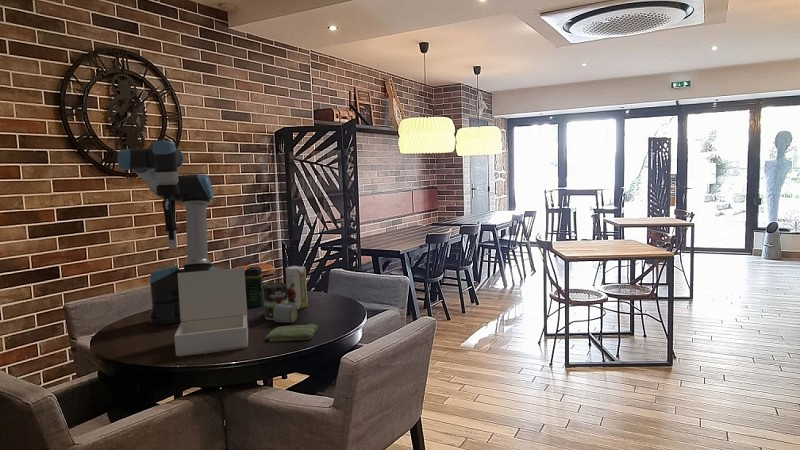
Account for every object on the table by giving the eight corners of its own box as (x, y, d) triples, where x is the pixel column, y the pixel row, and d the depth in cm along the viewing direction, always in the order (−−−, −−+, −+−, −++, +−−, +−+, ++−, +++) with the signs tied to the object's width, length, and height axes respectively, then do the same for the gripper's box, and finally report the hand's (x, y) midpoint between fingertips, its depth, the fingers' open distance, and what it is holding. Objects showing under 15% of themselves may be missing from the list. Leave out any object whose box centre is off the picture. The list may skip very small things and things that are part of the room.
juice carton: (297, 304, 245) (295, 265, 243) (310, 306, 240) (307, 266, 238) (285, 308, 239) (282, 267, 237) (298, 310, 234) (295, 269, 232)
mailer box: (182, 341, 197) (181, 322, 196) (248, 333, 203) (246, 314, 203) (176, 356, 180) (174, 336, 179) (247, 347, 186) (246, 327, 185)
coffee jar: (262, 307, 243) (259, 268, 241) (245, 308, 242) (242, 269, 240) (265, 302, 253) (262, 264, 251) (248, 303, 252) (245, 265, 250)
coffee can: (291, 317, 224) (289, 285, 222) (268, 321, 219) (265, 288, 217) (285, 312, 233) (283, 281, 231) (262, 315, 228) (260, 284, 226)
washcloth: (274, 332, 205) (274, 324, 205) (318, 330, 204) (318, 323, 204) (265, 343, 192) (264, 334, 192) (311, 341, 191) (311, 333, 191)
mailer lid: (180, 321, 196) (183, 319, 204) (247, 314, 203) (247, 312, 211) (177, 273, 197) (180, 272, 205) (244, 267, 203) (244, 267, 212)
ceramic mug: (291, 325, 212) (290, 306, 211) (273, 324, 214) (271, 306, 213) (301, 318, 222) (300, 300, 222) (284, 317, 224) (283, 300, 224)
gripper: (159, 184, 192) (164, 246, 195) (152, 184, 180) (158, 251, 182) (180, 183, 194) (186, 245, 197) (175, 183, 182) (181, 250, 184)
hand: (173, 248), depth 189 cm, fingers closed
